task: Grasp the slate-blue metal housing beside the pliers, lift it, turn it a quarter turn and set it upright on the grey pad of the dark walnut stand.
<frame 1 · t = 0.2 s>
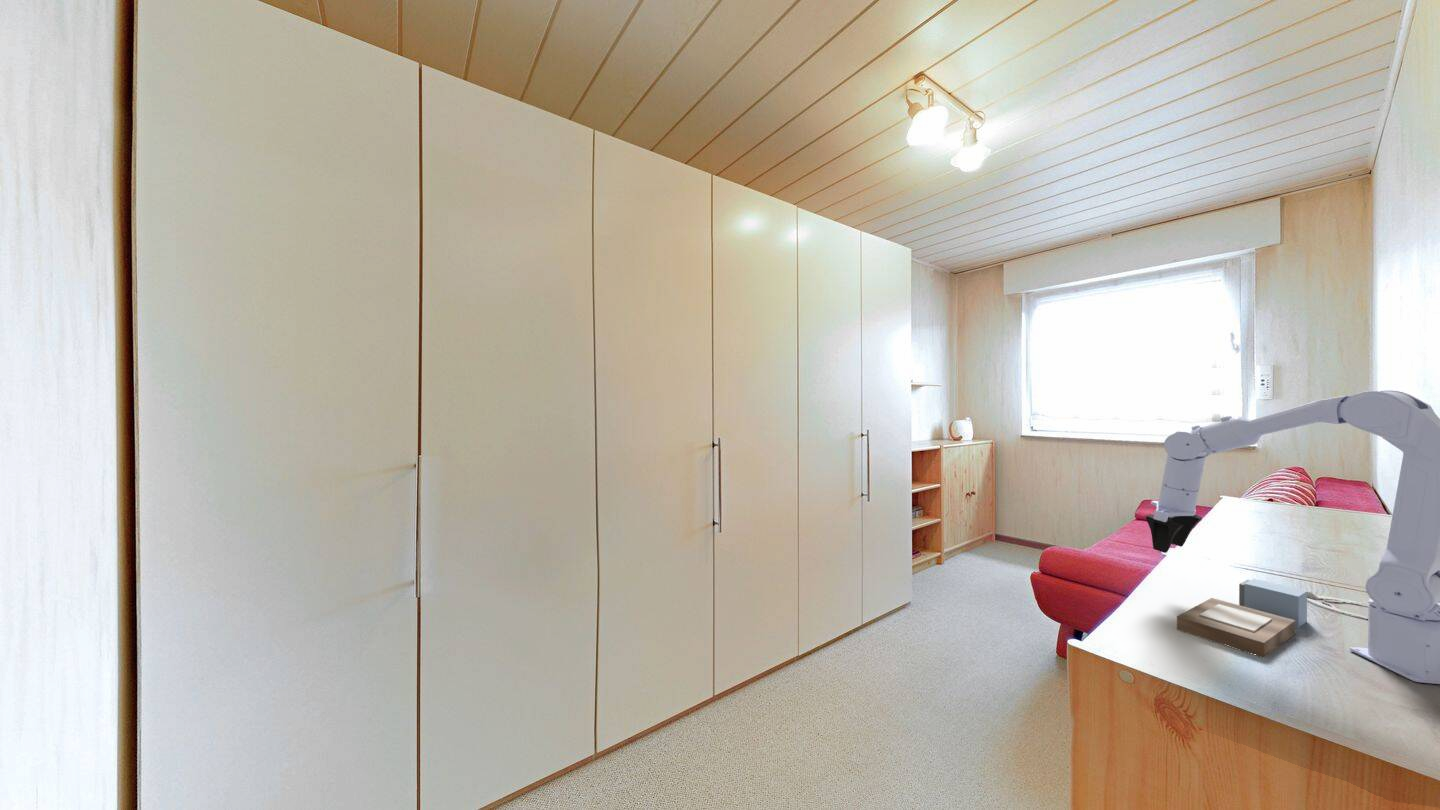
hand: (1168, 547, 103), 10 cm above the table, tool pointing down, fingers open, 7 cm apart
housing: (1274, 617, 93), on the table
pliers: (1318, 603, 99), on the table
stand: (1235, 631, 88), on the table
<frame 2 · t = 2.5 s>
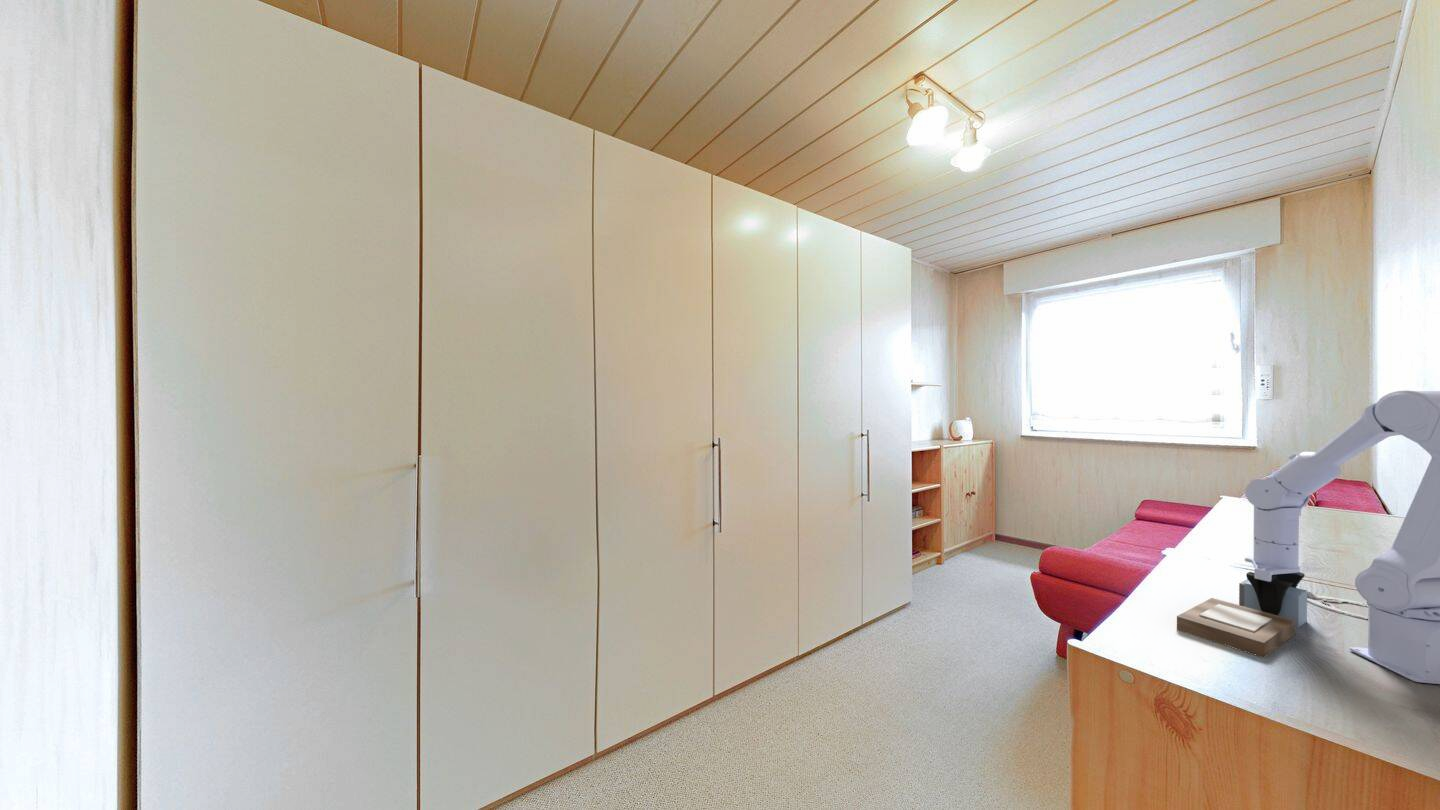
hand: (1275, 609, 93), 1 cm above the table, tool pointing down, fingers closed on housing, 5 cm apart
housing: (1274, 617, 93), on the table, touching gripper
everything else where it was.
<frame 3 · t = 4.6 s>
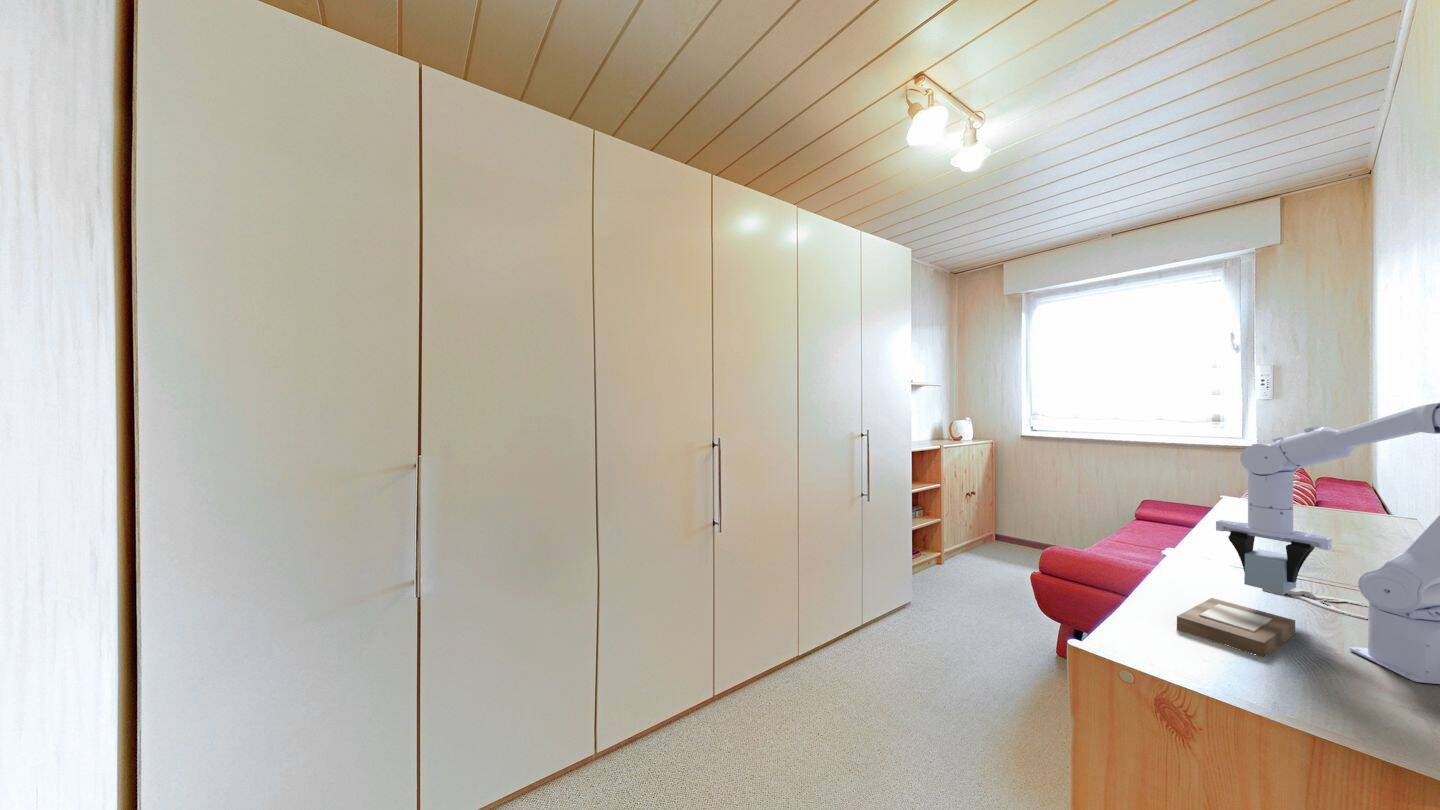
hand: (1269, 576, 92), 8 cm above the table, tool pointing down, fingers closed on housing, 5 cm apart
housing: (1270, 585, 92), point 6 cm above the table, touching gripper
everything else where it was.
when the fingers open (5 cm above the table, at t = 6.8 s): housing stays where it is, resting on stand.
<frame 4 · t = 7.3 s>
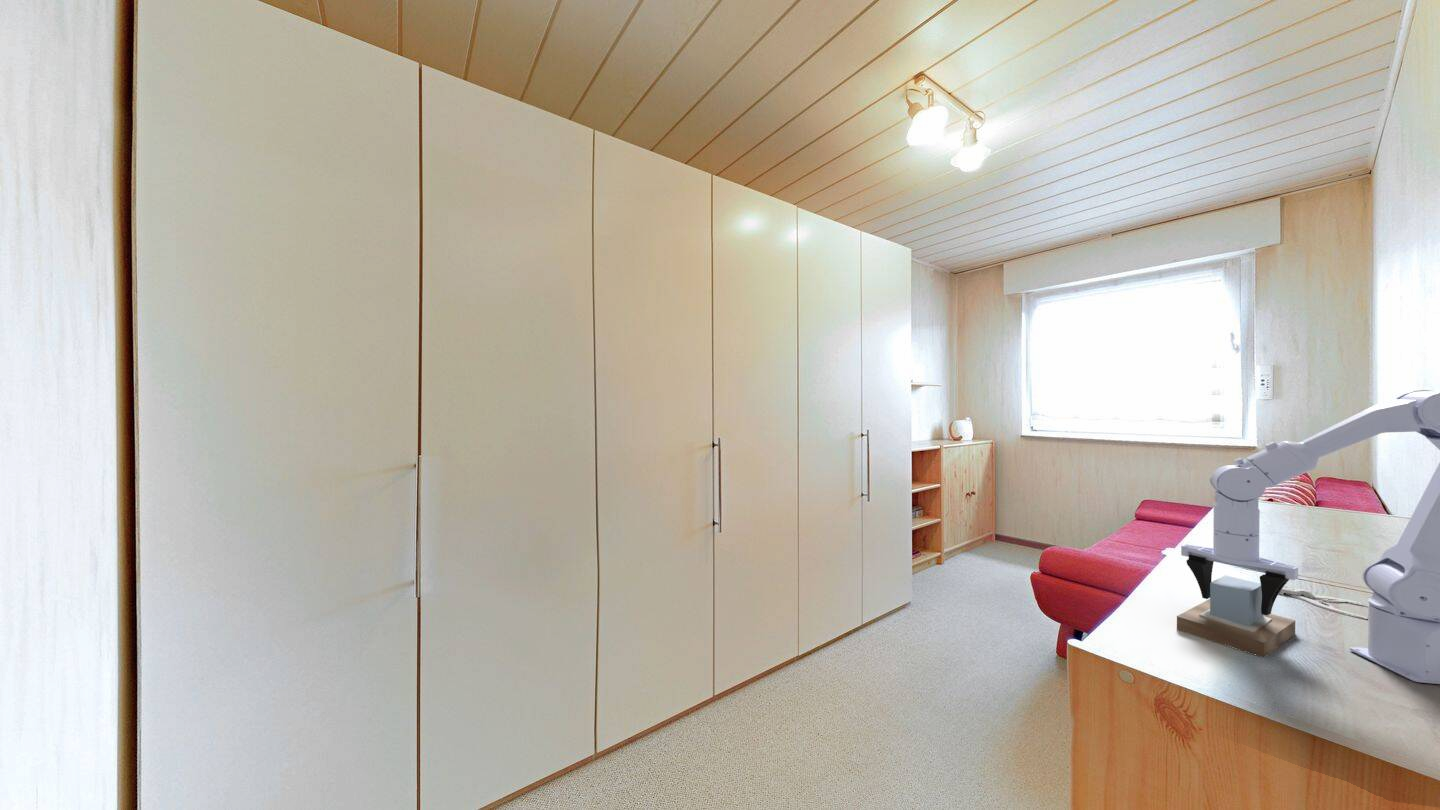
hand: (1235, 605, 88), 5 cm above the table, tool pointing down, fingers open, 7 cm apart
housing: (1236, 615, 88), point 3 cm above the table, touching stand
everything else where it was.
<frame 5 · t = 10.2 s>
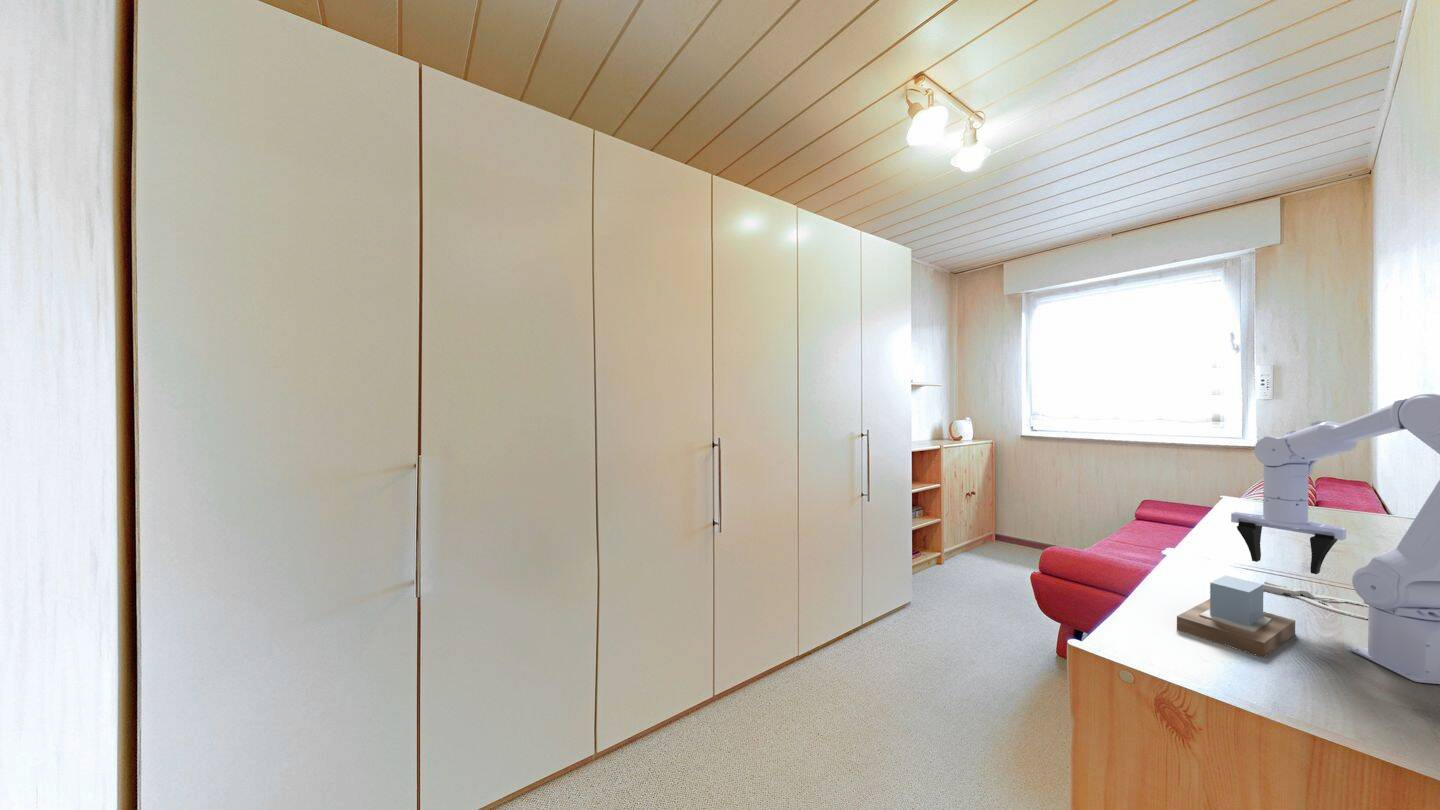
hand: (1284, 566, 94), 9 cm above the table, tool pointing down, fingers open, 7 cm apart
nothing on the table moved.
at the end: housing inside the target area on the stand (0.6 cm from its centre), point 2.8 cm above the stand's base; housing tilted 0°; the gripper is holding nothing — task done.
